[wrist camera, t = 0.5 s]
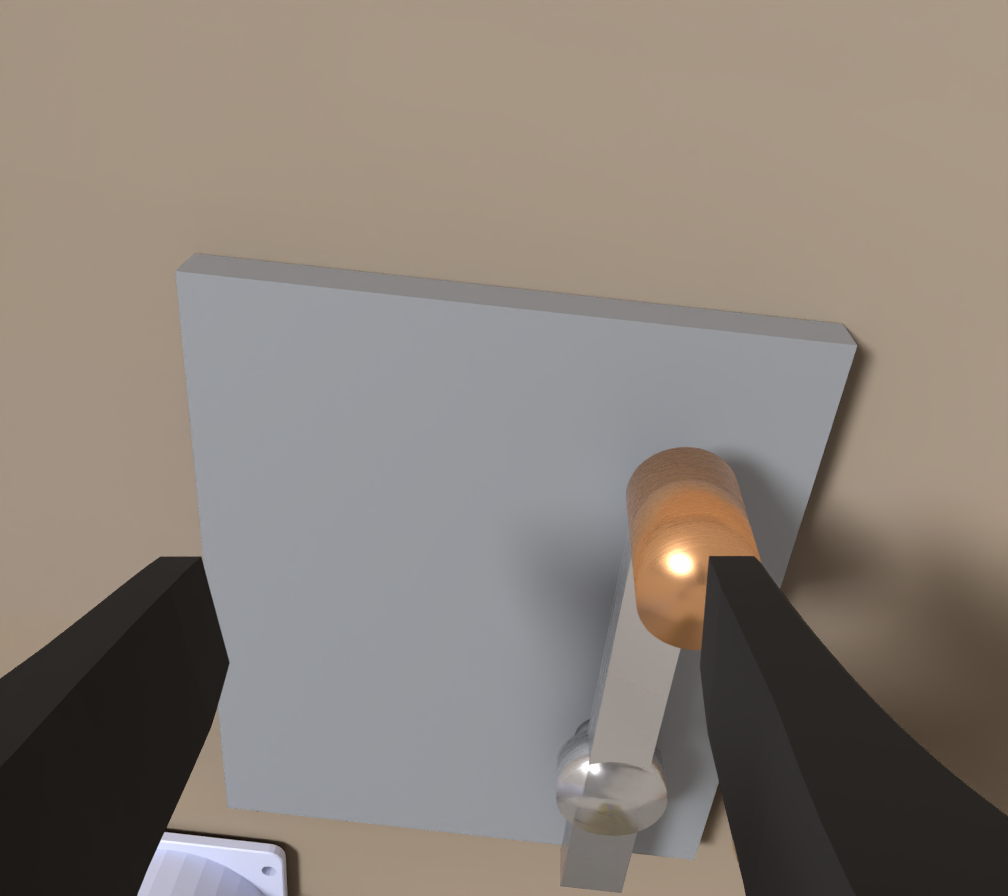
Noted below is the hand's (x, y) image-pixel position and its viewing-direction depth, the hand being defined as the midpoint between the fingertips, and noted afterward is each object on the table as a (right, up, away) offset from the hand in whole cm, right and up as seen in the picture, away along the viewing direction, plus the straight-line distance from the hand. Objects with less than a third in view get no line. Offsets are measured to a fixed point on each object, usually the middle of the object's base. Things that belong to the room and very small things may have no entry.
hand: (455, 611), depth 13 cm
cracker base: (+3, -2, +13) cm, 13 cm away
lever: (+4, -4, +11) cm, 12 cm away
